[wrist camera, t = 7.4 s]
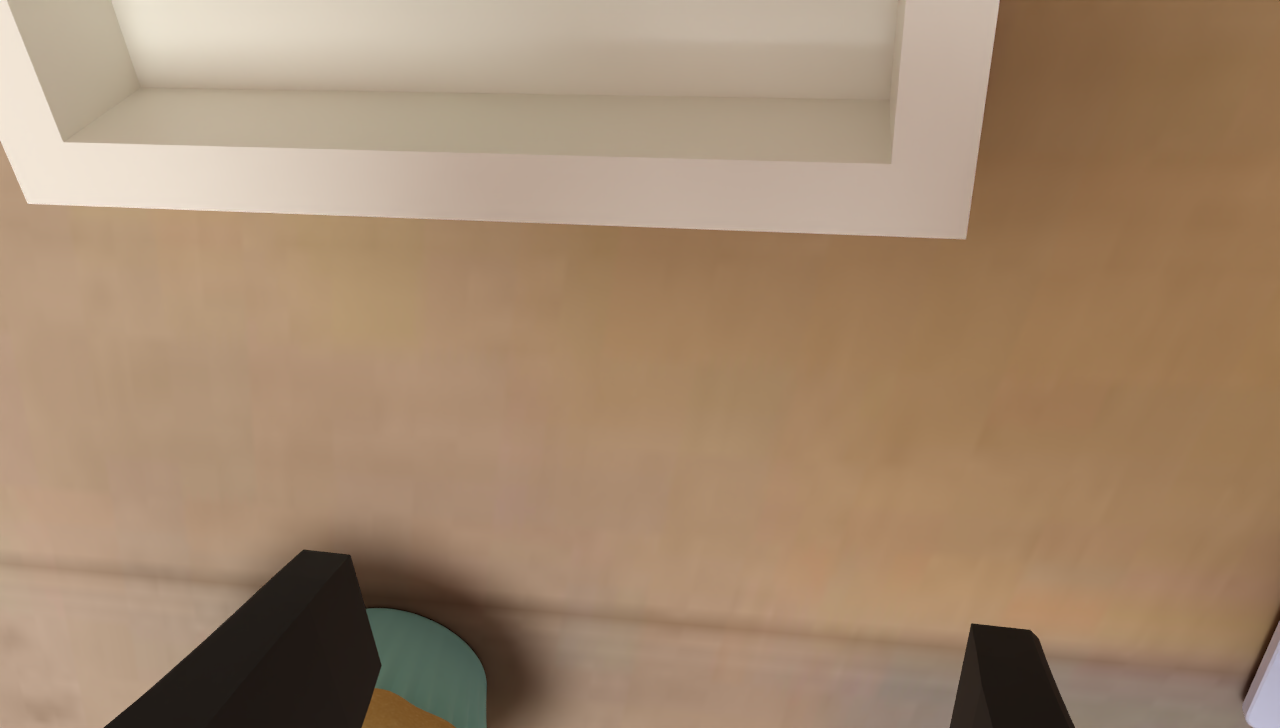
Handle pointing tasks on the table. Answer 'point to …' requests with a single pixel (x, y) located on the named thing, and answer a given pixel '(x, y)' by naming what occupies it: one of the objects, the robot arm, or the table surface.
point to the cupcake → (424, 675)
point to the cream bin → (507, 109)
